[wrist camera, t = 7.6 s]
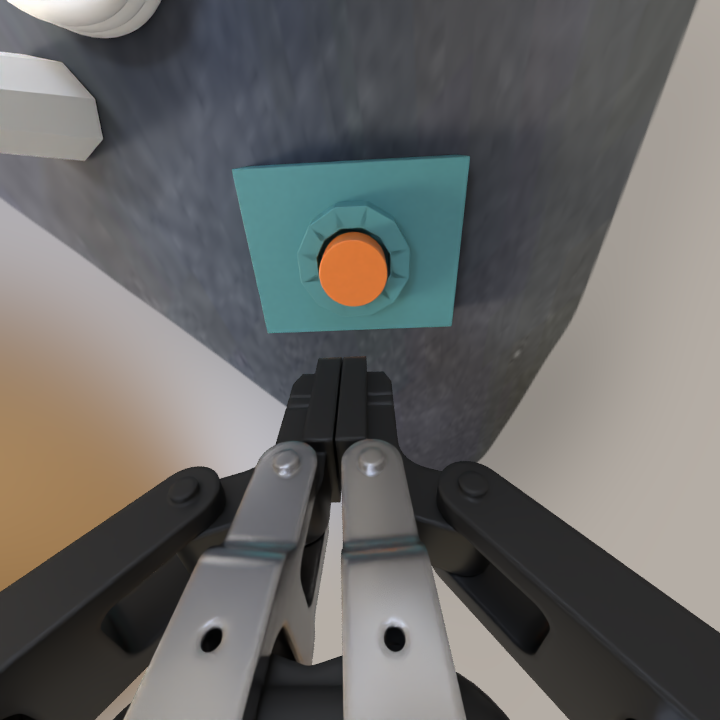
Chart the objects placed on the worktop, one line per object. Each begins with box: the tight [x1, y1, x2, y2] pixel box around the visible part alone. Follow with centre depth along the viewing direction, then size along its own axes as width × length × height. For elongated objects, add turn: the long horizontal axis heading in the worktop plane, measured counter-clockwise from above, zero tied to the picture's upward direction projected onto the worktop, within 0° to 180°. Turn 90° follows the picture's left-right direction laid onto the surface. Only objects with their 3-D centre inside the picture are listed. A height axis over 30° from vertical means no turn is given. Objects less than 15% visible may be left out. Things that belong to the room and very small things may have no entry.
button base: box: [232, 155, 470, 333], centre depth 23 cm, size 14×11×5 cm
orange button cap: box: [319, 232, 388, 306], centre depth 21 cm, size 4×4×2 cm
